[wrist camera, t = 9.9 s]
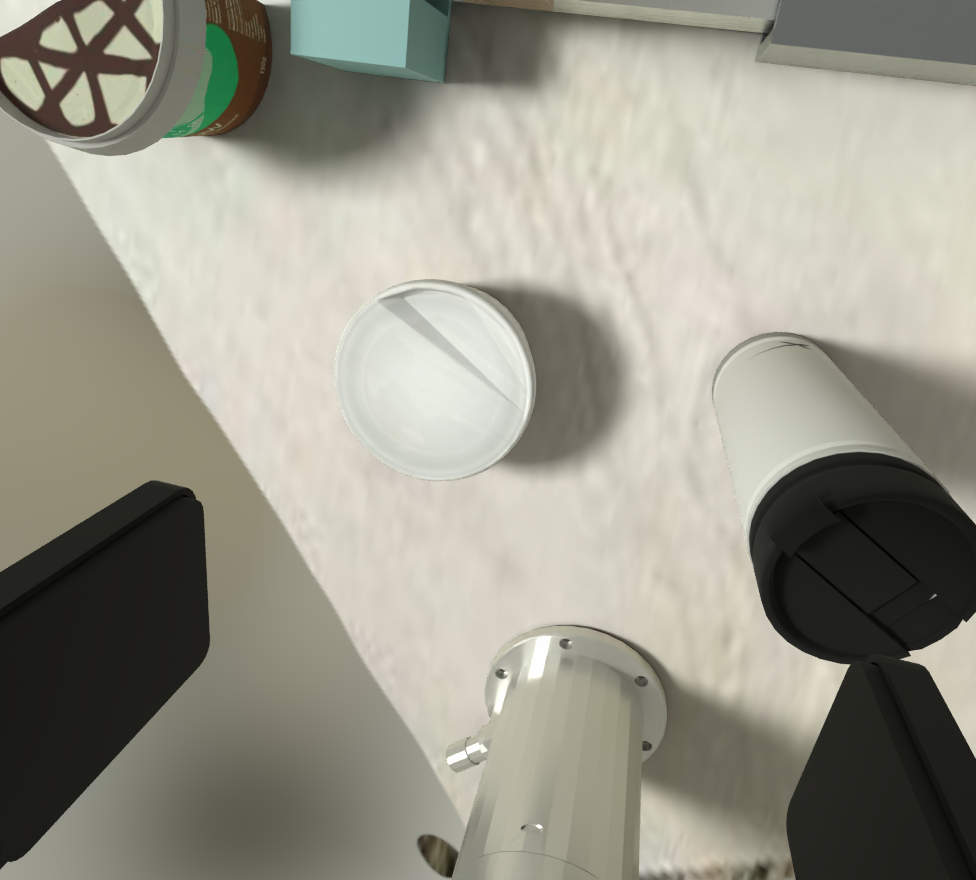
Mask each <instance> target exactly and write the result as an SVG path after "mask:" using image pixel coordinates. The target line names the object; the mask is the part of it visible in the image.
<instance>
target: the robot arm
mask: <svg viewBox="0 0 976 880" xmlns="http://www.w3.org/2000/svg"><path fill="white" fill-rule="evenodd" d="M204 531H205V530H204V511H203V506H202V504H201V502H199V501H198V500H196V497H195V495H194V493H193V491H192V490H190V489H189V488H185V487H181V486H177V485H173V484H169V483H164V482H160V481H149V482H147V483H145V484H143V485H142V486H140V487H138V488H137V489H135V490H133V491H132V492H131V493H129V494H127V495H125V496H124V497H122V498H120V499H119V500H117V501H116V502H114V503H112V504H111V505H109V506H107V507H106V508H104V509H102V510H101V511H99V512H98V513H96V514H94V515H93V516H91V517H90V518H88V519H86V520H85V521H83V522H81V523H80V524H78V525H76V526H75V527H73V528H72V529H70V530H68V531H67V532H65V533H63V534H62V535H60V536H59V537H57V538H55V539H54V540H52V541H50V542H49V543H47V544H46V545H44V546H42V547H41V548H39V549H37V550H36V551H34V552H33V553H31V554H29V555H28V556H26V557H24V558H23V559H21V560H19V561H18V562H16V563H15V564H13V565H11V566H10V567H8V568H6V569H5V570H3V571H1V572H0V869H1V868H2V867H3V866H4V865H5V864H6V863H7V862H8V861H9V862H12V861H16V860H18V859H19V858H21V857H23V856H24V855H25V854H26V853H27V852H28V851H29V850H30V849H31V848H32V847H33V846H34V845H35V844H36V843H37V842H38V840H40V838H41V837H42V836H43V835H44V834H45V833H46V832H47V831H48V830H49V829H50V828H51V826H52V825H53V824H54V823H55V822H56V821H57V820H58V819H59V818H60V817H61V816H62V815H63V814H64V812H65V811H66V810H67V809H68V808H69V807H70V806H71V805H72V804H73V803H74V802H75V801H76V799H77V798H78V797H79V796H80V795H81V794H82V793H83V792H84V791H85V790H86V788H87V787H88V786H89V785H90V784H91V783H92V782H93V781H94V780H95V779H96V778H97V777H98V776H99V774H100V773H101V772H102V771H103V770H104V769H105V768H106V767H107V766H108V765H109V764H110V762H111V761H112V760H113V759H114V758H115V757H116V756H117V755H118V754H119V753H120V752H121V751H122V749H123V748H124V747H125V746H126V745H127V744H128V743H129V742H130V741H131V740H132V739H133V738H134V737H135V735H136V734H137V733H138V732H139V731H140V730H141V729H142V728H143V727H144V726H145V725H146V724H147V722H148V721H149V720H150V719H151V718H152V717H153V716H154V715H155V714H156V713H157V712H158V710H159V709H160V708H161V707H162V706H163V705H164V704H165V703H166V702H167V701H168V699H169V698H170V697H171V696H172V695H173V694H174V693H175V692H176V691H177V690H178V689H179V688H180V687H181V686H182V684H183V683H184V682H185V681H186V680H187V679H188V678H189V677H190V676H191V675H192V674H193V673H194V671H195V670H196V669H197V668H198V667H199V666H200V665H201V663H202V662H203V660H204V658H205V657H206V654H207V652H208V649H209V645H210V633H209V615H208V614H209V612H208V591H207V571H206V552H205V532H204ZM485 703H486V707H487V710H488V714H489V717H490V721H489V724H487V725H485V726H482V727H481V728H480V730H479V731H478V735H475V736H473V737H467V738H465V739H463V740H460V741H458V742H456V743H453V744H451V745H450V746H448V748H447V751H446V758H447V761H448V764H449V766H450V767H451V769H452V770H453V771H455V772H461V771H463V770H466V769H468V768H471V767H473V766H475V765H478V764H479V763H480V762H482V761H484V760H486V763H485V766H484V770H483V773H482V776H481V780H480V783H479V787H478V790H477V794H476V797H475V800H474V804H473V807H472V811H471V814H470V818H469V821H468V825H467V828H466V831H465V835H464V839H463V842H462V845H461V849H460V852H459V855H458V859H457V862H456V866H455V869H454V873H453V876H452V879H451V880H639V849H640V814H641V778H642V763H643V762H644V761H646V760H647V759H649V758H650V756H651V755H652V754H653V753H654V752H655V751H656V749H657V748H658V747H659V745H660V743H661V741H662V739H663V737H664V734H665V729H666V724H667V704H666V698H665V692H664V690H663V687H662V685H661V682H660V680H659V678H658V676H657V675H656V673H655V672H654V671H653V669H652V668H651V666H650V665H649V664H648V663H647V662H646V661H645V660H644V659H643V658H642V657H641V656H640V655H639V654H638V653H637V652H636V651H634V650H633V649H632V648H630V647H629V646H627V645H626V644H625V643H623V642H621V641H619V640H617V639H615V638H613V637H611V636H609V635H607V634H604V633H601V632H598V631H595V630H592V629H588V628H581V627H575V626H551V627H545V628H539V629H535V630H533V631H530V632H527V633H525V634H522V635H520V636H519V637H517V638H515V639H514V640H512V641H511V642H509V643H508V644H507V645H506V646H505V647H504V648H503V649H502V650H501V651H500V652H499V653H498V655H497V657H496V658H495V660H494V661H493V663H492V666H491V669H490V671H489V674H488V677H487V681H486V687H485ZM786 825H787V836H788V841H789V847H790V852H791V857H792V862H793V867H794V873H795V878H796V880H976V758H975V757H974V755H973V753H972V751H971V749H970V747H969V745H968V744H967V742H966V740H965V738H964V736H963V734H962V732H961V731H960V729H959V727H958V725H957V723H956V721H955V719H954V717H953V716H952V714H951V712H950V710H949V708H948V706H947V704H946V703H945V701H944V699H943V697H942V695H941V693H940V691H939V690H938V688H937V686H936V684H935V682H934V680H933V678H932V676H931V675H930V673H929V671H928V670H927V669H926V668H925V667H924V666H922V665H920V664H916V663H912V662H908V661H904V660H900V659H896V658H891V657H887V656H883V655H879V654H872V655H870V656H869V657H868V658H867V659H866V661H865V662H860V661H854V662H853V663H852V664H851V665H850V666H849V668H848V670H847V672H846V675H845V677H844V679H843V681H842V684H841V686H840V688H839V691H838V693H837V695H836V698H835V700H834V702H833V704H832V707H831V709H830V711H829V714H828V716H827V718H826V721H825V723H824V725H823V727H822V730H821V732H820V734H819V737H818V739H817V741H816V743H815V746H814V748H813V750H812V753H811V755H810V757H809V760H808V762H807V764H806V766H805V769H804V771H803V773H802V776H801V778H800V780H799V783H798V785H797V787H796V789H795V792H794V794H793V796H792V799H791V801H790V804H789V807H788V812H787V821H786Z"/></svg>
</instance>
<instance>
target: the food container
mask: <svg viewBox="0 0 976 880" xmlns="http://www.w3.org/2000/svg"><path fill="white" fill-rule="evenodd" d="M271 62H272V39H271V33H270V26H269V21H268V17H267V14H266V10H265V7H264V4H262V3H260V2H259V1H257V0H61V1H59V2H56V3H55V4H53V5H52V6H50V7H49V8H47V9H46V10H44V11H43V12H41V13H40V14H38V15H37V16H36V17H34V18H33V19H31V20H30V21H28V22H27V23H25V24H23V25H22V26H20V27H18V28H17V29H15V30H13V31H11V32H9V33H7V34H5V35H3V36H1V37H0V109H1V110H2V111H3V112H4V113H5V114H6V115H7V116H9V117H10V118H12V119H13V120H14V121H16V122H17V123H19V124H20V125H22V126H24V127H26V128H27V129H29V130H30V131H32V132H33V133H35V134H37V135H39V136H41V137H43V138H45V139H47V140H49V141H52V142H55V143H58V144H61V145H64V146H67V147H71V148H74V149H77V150H80V151H84V152H87V153H90V154H96V155H104V156H116V155H127V154H130V153H133V152H137V151H140V150H143V149H145V148H147V147H148V146H150V145H152V144H154V143H156V142H157V141H159V140H160V139H161V138H173V137H189V136H206V135H219V134H223V133H226V132H230V131H231V130H233V129H235V128H237V127H239V126H240V125H241V124H243V123H244V122H245V121H246V120H247V119H249V117H250V116H251V115H252V114H253V113H254V111H255V110H256V109H257V107H258V105H259V103H260V102H261V100H262V98H263V96H264V93H265V90H266V88H267V85H268V81H269V76H270V72H271Z"/></svg>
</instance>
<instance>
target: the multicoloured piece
mask: <svg viewBox="0 0 976 880" xmlns="http://www.w3.org/2000/svg"><path fill="white" fill-rule="evenodd" d="M447 1H456V2H465V3H475V4H485V5H494V6H504V7H514V8H524V9H533V10H543V11H554V12H563V13H573V14H583V15H593V16H602V17H612V18H622V19H632V20H641V21H651V22H661V23H670V24H680V25H690V26H700V27H709V28H719V29H729V30H739V31H748V32H758V33H768V34H770V32H771V31H772V30H773V27H774V24H775V20H776V16H777V12H778V8H779V4H780V0H447Z"/></svg>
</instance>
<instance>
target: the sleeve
mask: <svg viewBox="0 0 976 880" xmlns="http://www.w3.org/2000/svg"><path fill="white" fill-rule="evenodd" d="M755 61H756V62H765V63H774V64H783V65H792V66H801V67H810V68H819V69H829V70H838V71H847V72H856V73H865V74H874V75H883V76H892V77H902V78H911V79H920V80H929V81H938V82H947V83H956V84H965V85H975V86H976V0H780V4H779V8H778V12H777V16H776V20H775V24H774V27H773V30H772V31H771V32H770V34H768V33H762V35H761V39H760V43H759V47H758V51H757V55H756V59H755Z"/></svg>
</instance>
